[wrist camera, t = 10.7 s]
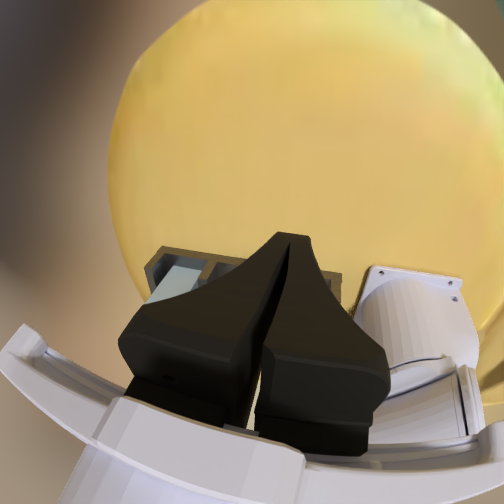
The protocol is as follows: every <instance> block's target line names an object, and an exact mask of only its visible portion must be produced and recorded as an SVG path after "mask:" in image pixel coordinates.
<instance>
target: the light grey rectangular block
mask: <svg viewBox="0 0 504 504" xmlns="http://www.w3.org/2000/svg"><path fill="white" fill-rule="evenodd" d="M201 272H202V271H201V270H195V269H190V268H184V267H179V266H173V267H172V268H171V269H170V271H169V272H168V273H167V275H166V276H165V277H164V279H163V280H162V281H161V283H160V284H159V285H158V287H157V288H156V289H155V291H154V292H153V293H152V295H151V296H150V297H149V299H148V300H147V301H146V303H145V304H148V303H152V302H156V301H160V300H164V299H168V298H171V297H174V296H177V295H180V294H183V293H186V292H189V291H191V290H194V289H196V288H199V286H198V279H197V278H198V276H199V275H200V273H201Z"/></svg>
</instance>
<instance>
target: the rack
mask: <svg viewBox="0 0 504 504" xmlns="http://www.w3.org/2000/svg"><path fill="white" fill-rule="evenodd" d="M245 260H247V259H242V258H235V257H229V256H222V255H216V254H209V253H203V252H197V251H190V250H184V249H178V248H171V247H165V246H161V247H160V249H159V250H158V251H157V253H156V254H155V255H154V256H153V258H152V259H151V260H150V261H149V262H148V263H147V264H146V265H145V267H144V270H145V274H146V277H147V281H148V284H149V288H150V291H151V295H152V293H153V292H154V291H155V289H156V288H157V287H158V285H159V284H160V283H161V281H162V280H163V279H164V277H165V276H166V275H167V273H168V272H169V271H170V269H171V268H172V267H173V266H179V267H184V268H190V269H195V270H201V271H202V272H201V273H200V275H199V276H198V278H197V279H198V286H199V287H201V286H203V285H205V284H207V283H209V282H211V281H213V280H216V279H218V278H219V277H221V276H223V275H225V274H226V273H228V272H230V271H231V270H233V269H234V268H236V267H237V266H239V265H240V264H241V263H243V262H244V261H245ZM321 272H322V274H323V276H324V278H325V280H326V282H327V284H328V286H329V288H330V289H331V291H332V292H333V294H334V296H335V297H336V299H337V300H338V301H339V303H341V283H342V273H335V272H328V271H322V270H321Z"/></svg>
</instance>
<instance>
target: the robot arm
mask: <svg viewBox="0 0 504 504" xmlns="http://www.w3.org/2000/svg"><path fill="white" fill-rule="evenodd" d="M380 271H383V272H382V273H379V272H380ZM450 281H451V282H450ZM448 282H450V283H448ZM462 284H463V281H462V279H461V278H457V277H451V276H444V275H438V274H431V273H425V272H418V271H412V270H405V269H399V268H392V267H385V266H379V265H374V266H372V267H371V268H370V270H369V273H368V276H367V279H366V283H365V286H364V289H363V292H362V295H361V297H360V300H359V303H358V306H357V309H356V312H355V314H354V317H353V319H352V318H351V317H350V316H349V314H348V313H347V312H346V311H345V310H344V308H343V307H342V306H341V304H340V303H339V301H338V300H337V299H336V297H335V296H334V294H333V292H332V291H331V289H330V288H329V286H328V284H327V282H326V280H325V278H324V276H323V274H322V272H321V270H320V268H319V266H318V263H317V261H316V258H315V256H314V253H313V249H312V246H311V239H310V237H309V236H306V235H299V234H291V233H284V232H277V233H275V234H274V235H273V236H272V237H271V238H270V239H269V240H268V241H267V242H266V243H265V244H264V245H263V246H262V247H261V248H260V249H259V250H257V251H256V252H255V253H254V254H253V255H252V256H250V257H249V258H248V259H247V260H245V261H244V262H243V263H241V264H240V265H239V266H237V267H236V268H234V269H233V270H231V271H230V272H228V273H226V274H225V275H223V276H221V277H219V278H218V279H216V280H213V281H211V282H209V283H207V284H205V285H203V286H201V287H199V288H196V289H194V290H191V291H189V292H186V293H183V294H180V295H177V296H174V297H171V298H168V299H164V300H160V301H156V302H152V303H148V304H144V305H142V306H141V308H140V309H139V310H138V311H137V312H136V314H135V315H134V316H133V318H132V319H131V321H130V322H129V324H128V325H127V327H126V328H125V329H124V331H123V332H122V334H121V335H120V337H119V338H118V346H119V349H120V352H121V354H122V356H123V358H124V359H125V361H126V363H127V365H128V366H129V368H130V370H131V371H132V373H133V374H134V378H133V379H132V381H131V383H130V385H129V386H128V388H127V389H125V388H123V387H121V386H119V385H117V384H115V383H113V382H110V381H108V380H106V379H104V378H102V377H100V376H98V375H96V374H94V373H92V372H91V371H89V370H87V369H85V368H83V367H82V366H80V365H78V364H76V363H75V362H73V361H71V360H69V359H67V358H66V357H64V356H63V355H61V354H59V353H58V352H56V351H55V350H53V349H51V348H50V347H48V344H47V342H46V341H45V340H44V338H43V337H42V336H41V335H40V334H39V333H38V332H37V331H36V330H34V329H33V328H31V327H30V326H28V325H27V324H25V323H23V325H22V326H21V327H20V328H19V329H18V330H17V332H16V333H15V334H14V335H13V336H12V338H11V339H10V340H9V341H8V343H7V344H6V345H5V346H4V348H3V349H2V350H1V352H0V371H1V372H2V373H3V374H4V375H5V376H6V378H8V380H9V381H10V382H11V383H13V385H14V386H15V387H16V388H18V390H19V391H20V392H21V393H22V394H24V395H25V396H26V397H27V398H28V399H29V400H30V401H31V402H33V403H34V404H35V405H36V406H37V407H38V408H39V409H41V410H42V411H43V412H44V413H45V414H47V415H48V416H49V417H50V418H52V419H53V420H54V421H55V422H57V423H58V424H59V425H61V426H62V427H63V428H65V429H66V430H68V431H69V432H70V433H72V434H73V435H75V436H76V437H77V438H79V439H80V440H82V441H83V442H85V443H86V444H87V446H86V448H85V449H84V451H83V453H82V455H81V457H80V459H79V461H78V463H77V465H76V466H75V469H74V470H73V472H72V474H71V476H70V478H69V480H68V482H67V484H66V486H65V488H64V490H63V493H62V494H61V496H60V499H59V500H58V502H57V504H453V503H455V502H458V501H461V500H464V499H468V498H471V497H473V496H476V495H479V494H481V493H484V492H486V491H489V490H491V489H494V488H496V487H498V486H501V485H503V484H504V420H501V421H497V422H494V423H492V424H490V425H488V426H485V420H484V412H483V407H482V401H481V396H480V391H479V386H478V382H477V378H476V374H475V369H476V366H477V362H478V357H479V340H478V335H477V332H476V329H475V327H474V324H473V321H472V319H471V316H470V314H469V311H468V309H467V306H466V304H465V301H464V299H463V297H462V295H461V292H460V288H461V286H462ZM261 368H262V369H261ZM260 372H261V383H260V392H259V396H258V399H257V403H256V406H255V410H254V413H255V423H254V431H253V430H249V429H246V427H247V423H248V419H249V415H250V411H251V407H252V404H253V400H254V396H255V391H256V388H257V384H258V380H259V376H260Z"/></svg>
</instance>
